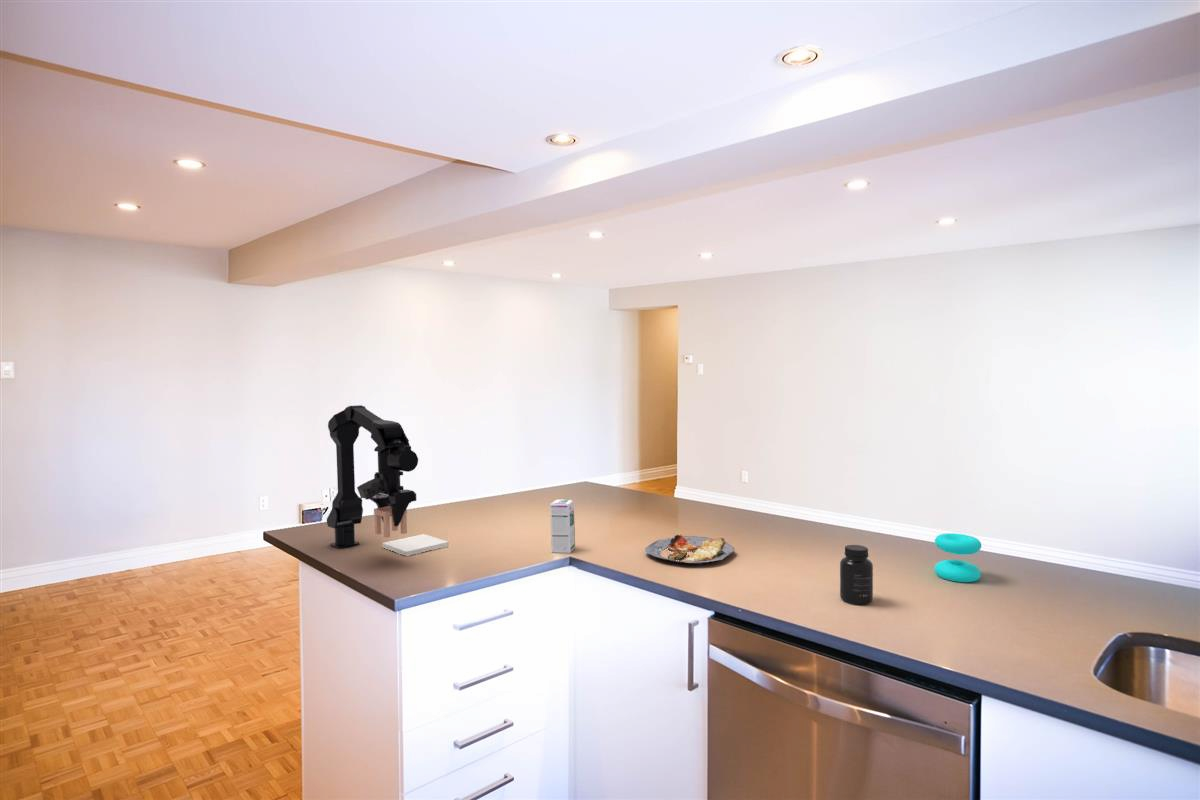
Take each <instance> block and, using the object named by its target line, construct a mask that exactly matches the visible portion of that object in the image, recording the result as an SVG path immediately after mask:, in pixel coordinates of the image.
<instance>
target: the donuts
mask: <svg viewBox="0 0 1200 800" xmlns="http://www.w3.org/2000/svg"><path fill="white" fill-rule="evenodd" d="M934 543H935V545H936V547H937V548H938V549H940V550H941V551H943V552H945V553H948V554H954V555H961V556H962V555H963V556H965V555H966V556H968V555H974V554H976V553H978V552H980V551H981V548H982V542H981V541H980V540H979V539H978V538H976V537H975V536H971V535H967V534H962V533H946V532H945V533H941V534H938V535H936V536H935V538H934ZM934 572H935V574H936V575H937V576H938V577H940V578H941V579H944V580H947V581H952V582H957V583H958V582H959V583H973V582H974V583H975V582H977V581H979V579H980V578H981V576H982V573H981V572H982V571H981V570H980V568H979V567H977V566H976V565H975V564H973V563H971V562H968V561H965V560H959V559H944V560H940V561H938V562H937V563H936V564H935V566H934Z"/></svg>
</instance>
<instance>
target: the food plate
mask: <svg viewBox="0 0 1200 800" xmlns="http://www.w3.org/2000/svg"><path fill="white" fill-rule="evenodd" d="M667 548H668V550H669V551H671V552H674V553H673V554H668V555H667V557H664V556H663V555H662V552H664V551H663V550H665V549H667ZM659 549H661V551H662V552H661V551H660V550H659ZM693 550H695V551H693ZM735 550H736V549H735V547H734V546H733V545H731V544H730V543H729V542H726V538H724V537H721V538H710V537H705V536H696V535H693V536H692V535H691V536H686V535H682V534H680V535H679V534H676V535H674V536H673V537H666V538H663V539H658V540H655V541H654V542H651V544H649V545H648V546H646V547H645V548H644V552H645V553H646V554H647V555H649V556H650V555H651V556H653V557H655V558H658V559H662V560H664V561H670V562H674V563H681V564H689V565H691V564H692V565H693V564H694V565H699V564H700V565H703V564H705V563H706V564H707V563H709V562H715V561H722V560H724V559H725V558H726V557H728V556H729V555H731V554H732V553H733V552H735ZM691 551H693V552H694V553H693V554H692V555H691V556H690V557H687V558H686V557H685V556H686V555H687V552H691ZM660 553H661V554H660ZM661 555H662V556H661ZM683 557H685V558H686V559H685V560H684V561H683V559H684V558H683ZM667 558H668V559H667ZM682 558H683V559H682ZM680 559H681V560H680ZM676 560H677V561H676ZM678 560H679V561H678Z"/></svg>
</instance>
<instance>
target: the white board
mask: <svg viewBox="0 0 1200 800" xmlns="http://www.w3.org/2000/svg"><path fill="white" fill-rule="evenodd" d="M449 544H450V543H449V541H448V540H445V539H442V538H441V539H440V538H438V537H435V536H431V535H428V534H426V533H422V534H418V535H414V536H408V537H404V538H400V539H395V540H391V541H385V542H381V545H382V546H381V547H383V548H382V549H384V548H385V550H386V549H388V550H387V551H389V550H391V551H390V552H392V551H394V552H397V553H399V554H398V555H400V554H402V555H405V556H408V557H410V556H409V555H412V554H416V555H418V554H417V553H420V554H422V553H421V552H425V551H429V550H433V551H435V550H434V549H437V550H439V549H438V548H441V549H443V548H442V547H445V548H448V547H447V546H449V547H450V545H449ZM394 552H393V553H394ZM429 552H430V551H429ZM397 553H396V554H397ZM425 553H426V552H425ZM402 555H401V556H402ZM405 556H404V557H405ZM412 556H413V555H412Z"/></svg>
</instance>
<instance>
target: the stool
mask: <svg viewBox="0 0 1200 800" xmlns="http://www.w3.org/2000/svg"><path fill="white" fill-rule="evenodd" d="M407 509H408V508H407ZM407 509H406V510H405V513H404V515H403V517H402V519H401V521H400V534H401V535H405V534H408V529H407V527H408V524H407V523H408V521H407V513H408V510H407ZM373 514H374V534H375V535H381V534H382V525H383V538H390V537H391V531H392V532H397V531H398V530H399V526H394V522H393V515H392V509H391V507H390V506H387V507H381V508H378V507H377V508H373ZM381 516H382V517H383V521H382V518H381ZM390 519H391V522H390ZM382 523H383V524H382Z"/></svg>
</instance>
